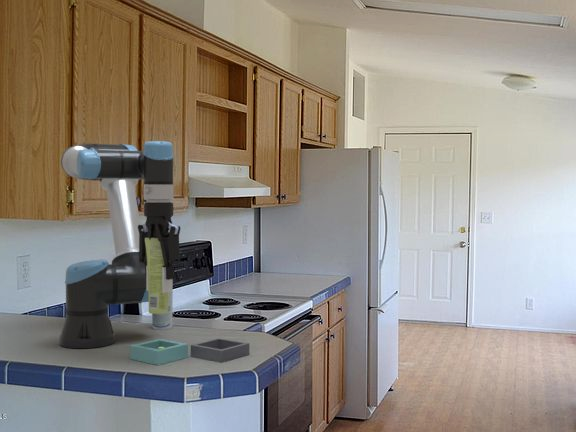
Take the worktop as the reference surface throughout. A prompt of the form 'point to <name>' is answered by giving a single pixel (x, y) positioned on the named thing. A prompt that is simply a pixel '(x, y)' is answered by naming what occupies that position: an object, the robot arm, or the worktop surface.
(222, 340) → the gray square frame
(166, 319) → the spray can
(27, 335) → the worktop surface
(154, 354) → the block
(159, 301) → the tube
